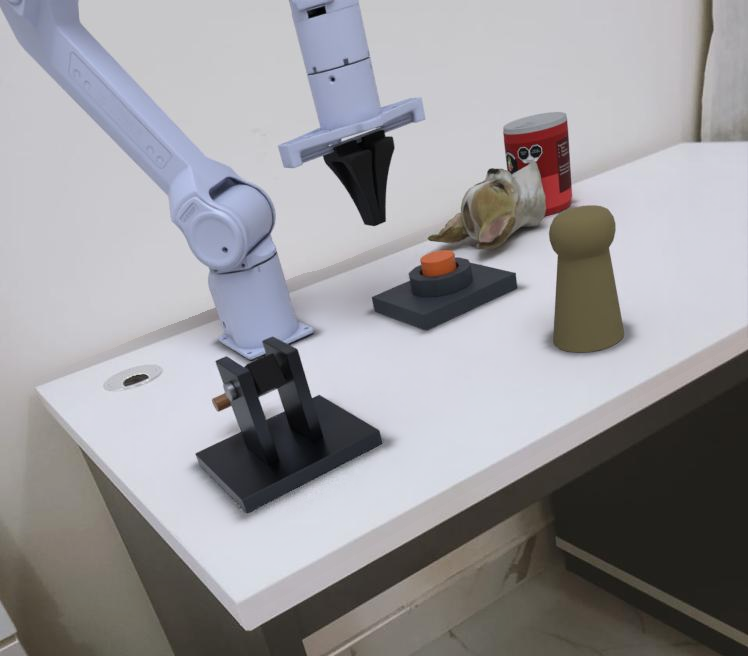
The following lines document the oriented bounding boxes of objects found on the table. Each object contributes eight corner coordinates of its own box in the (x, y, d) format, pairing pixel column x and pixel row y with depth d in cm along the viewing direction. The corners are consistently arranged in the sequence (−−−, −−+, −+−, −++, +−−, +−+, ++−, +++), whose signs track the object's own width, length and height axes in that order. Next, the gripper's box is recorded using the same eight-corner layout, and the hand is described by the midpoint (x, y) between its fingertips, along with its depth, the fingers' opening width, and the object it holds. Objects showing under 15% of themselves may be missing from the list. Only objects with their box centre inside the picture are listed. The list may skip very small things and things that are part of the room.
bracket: (199, 465, 62) (160, 369, 57) (322, 406, 66) (295, 312, 61) (247, 513, 55) (206, 407, 50) (382, 443, 59) (357, 339, 54)
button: (416, 275, 80) (413, 259, 79) (443, 264, 81) (440, 248, 80) (436, 281, 77) (433, 264, 76) (463, 269, 78) (461, 252, 78)
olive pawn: (626, 347, 63) (622, 214, 57) (552, 355, 65) (541, 227, 58) (622, 319, 68) (618, 192, 62) (553, 327, 69) (542, 205, 63)
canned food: (502, 212, 103) (492, 126, 97) (555, 196, 104) (548, 109, 98) (528, 222, 97) (519, 131, 91) (583, 205, 98) (578, 113, 92)
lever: (220, 419, 64) (207, 393, 63) (271, 395, 66) (259, 370, 65) (244, 401, 55) (229, 371, 54) (303, 374, 56) (289, 345, 56)
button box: (374, 311, 83) (367, 281, 81) (460, 273, 87) (455, 243, 85) (426, 330, 75) (420, 297, 73) (517, 288, 79) (514, 255, 77)
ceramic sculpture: (565, 147, 88) (471, 195, 83) (574, 220, 93) (485, 270, 88) (503, 147, 96) (413, 191, 91) (514, 215, 101) (429, 260, 96)
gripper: (286, 86, 60) (331, 254, 67) (431, 39, 65) (458, 200, 72) (251, 91, 65) (297, 245, 73) (387, 47, 70) (417, 196, 77)
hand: (375, 223), depth 73 cm, fingers closed
